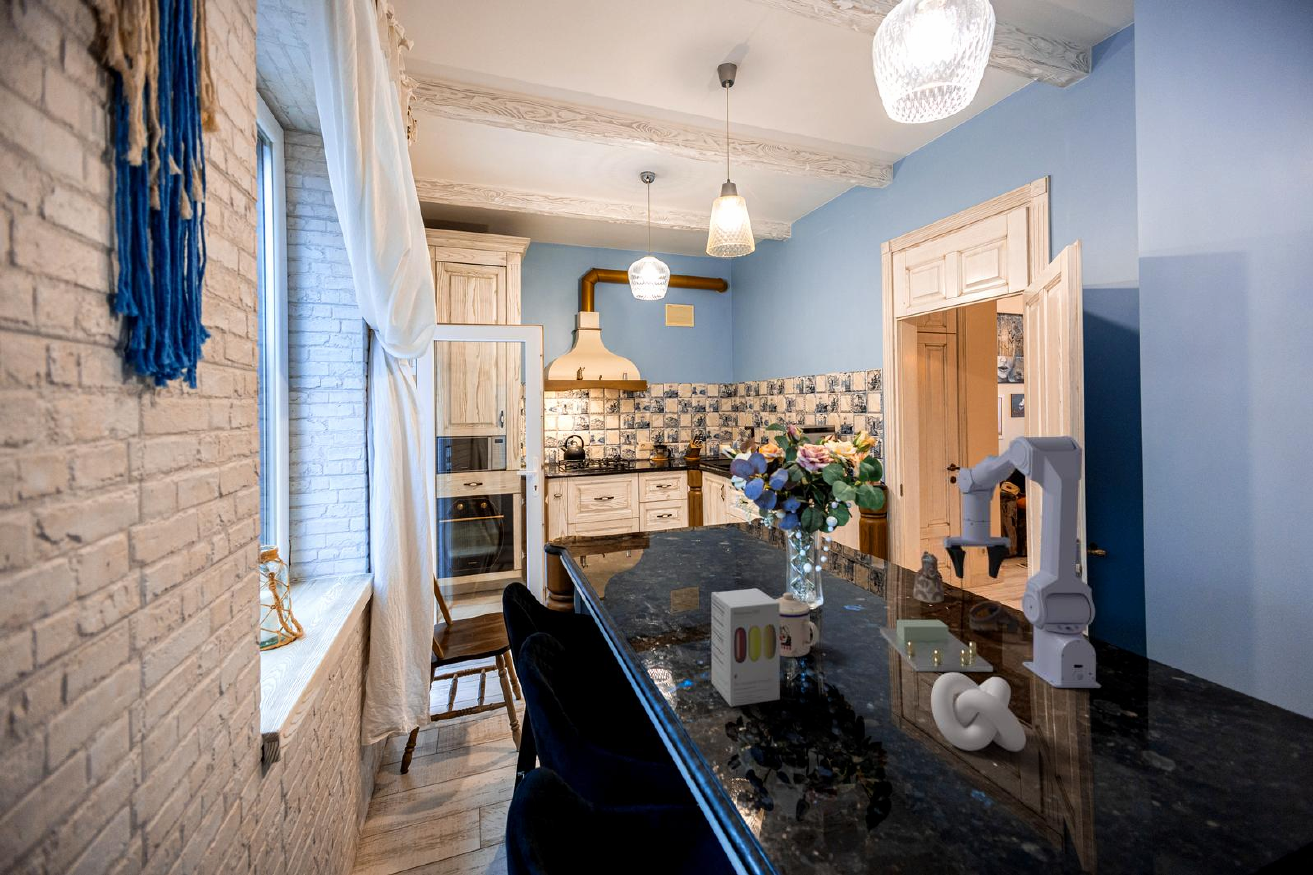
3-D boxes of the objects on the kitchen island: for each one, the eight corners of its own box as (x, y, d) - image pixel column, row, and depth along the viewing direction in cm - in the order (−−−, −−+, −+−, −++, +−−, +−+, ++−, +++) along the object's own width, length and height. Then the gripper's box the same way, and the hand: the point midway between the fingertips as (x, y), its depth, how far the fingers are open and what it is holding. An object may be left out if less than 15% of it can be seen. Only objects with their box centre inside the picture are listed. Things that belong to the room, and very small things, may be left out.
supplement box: (730, 708, 92) (728, 607, 92) (710, 683, 101) (708, 591, 100) (782, 699, 95) (781, 601, 94) (758, 676, 103) (757, 586, 103)
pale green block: (948, 641, 116) (948, 626, 116) (904, 640, 116) (904, 626, 116) (939, 633, 120) (939, 619, 120) (896, 633, 120) (896, 619, 120)
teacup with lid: (757, 647, 116) (756, 592, 116) (786, 637, 122) (786, 584, 121) (802, 667, 107) (801, 607, 106) (832, 655, 112) (831, 598, 112)
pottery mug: (1029, 649, 115) (1008, 615, 115) (981, 659, 120) (961, 626, 120) (1024, 616, 125) (1005, 585, 125) (981, 627, 130) (962, 597, 130)
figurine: (915, 601, 144) (915, 555, 144) (911, 593, 151) (911, 549, 150) (946, 603, 142) (946, 557, 141) (940, 595, 149) (940, 550, 148)
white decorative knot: (943, 710, 90) (943, 656, 90) (1032, 735, 83) (1032, 676, 83) (925, 742, 82) (925, 682, 81) (1022, 773, 74) (1022, 707, 74)
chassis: (992, 671, 104) (992, 653, 104) (916, 671, 104) (916, 653, 104) (944, 632, 123) (944, 617, 123) (880, 632, 123) (880, 617, 123)
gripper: (998, 516, 133) (998, 572, 133) (936, 516, 134) (936, 572, 134) (1016, 521, 126) (1015, 580, 126) (950, 522, 127) (950, 581, 127)
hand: (976, 577), depth 130 cm, fingers open, 7 cm apart
